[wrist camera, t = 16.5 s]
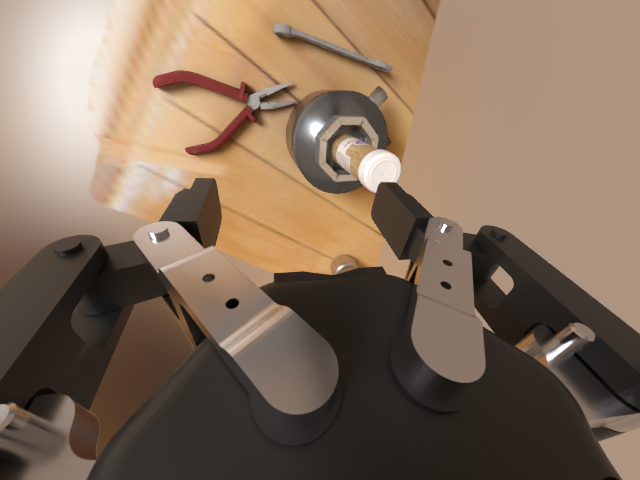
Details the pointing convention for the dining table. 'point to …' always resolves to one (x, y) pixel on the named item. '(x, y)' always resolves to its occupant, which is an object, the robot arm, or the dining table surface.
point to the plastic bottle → (343, 265)
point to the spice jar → (365, 161)
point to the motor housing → (333, 133)
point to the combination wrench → (329, 46)
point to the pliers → (227, 90)
